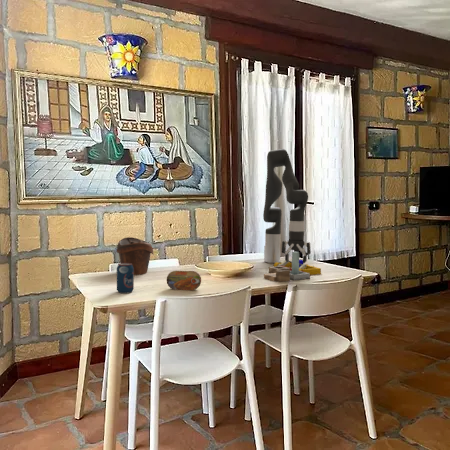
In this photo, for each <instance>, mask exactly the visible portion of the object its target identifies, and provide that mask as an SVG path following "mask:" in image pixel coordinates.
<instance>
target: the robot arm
mask: <svg viewBox="0 0 450 450" xmlns="http://www.w3.org/2000/svg"><path fill="white" fill-rule="evenodd" d="M280 167H284V171H283V173H282V176H281V179H280V178H279V176H278V175H277V174H276V172H275V168H280ZM265 183H266V184H265V199H264V207H263V212H262V213H263V214H262V215H263V216H262V217H263V222H265V223H273V224H274V225H273V226H271V227H268V228H266V229H265V230H264V231H265V237H264V239H265V240H264V241H265V242H264V243H265V244H264V249H263V251H264V252H263V256H264V257H263V261H264V262H266V263H269V264H275V263H276V262H278V263H281V253H282V254H284V261H286V262H289V261H290V254H289V253H290V252H291V251H296V252H299V251H300V253H301V254H302V255H303V256H302V260H303V263H304V264H305V263H307V257H308V256H309V255H311V254H312V253H311V242H305V210H306V208H307V204H308V201H309V194H308V192H307V190H306V189H300V184H299V181H298V179H297V177H296V175H295V173H294V169H293V165H292V161H291V159H290V155H289V153H288V151H287V150H286V149H284V148H280V149H273V150H269V151H268V152H267V155H266V181H265ZM283 186H284V189H285V193H286V197H285V199H286V201H287V203H289V204H290V205H297V207H296V208H292V209H290V210H289V224H288V240H283V241H282V244H281V239H282V238H281V233H282V232H281V230H282V226H281V225H282V208H281V207H279V206H278V207H277V206H275V207H274V206H273V204H275V202H276V201H277V200H279V198H280V197H281V195H282V192H283V191H282V190H283ZM272 206H273V207H272ZM287 245H288V248H287V249H286V246H287ZM304 246H305V248H306V250H305V248H304Z"/></svg>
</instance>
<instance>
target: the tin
mask: <svg viewBox="0 0 450 450" xmlns="http://www.w3.org/2000/svg"><path fill="white" fill-rule="evenodd" d="M201 283H202V277H201V275H200V274H199V273H198V271H195V270H173V271H170V272H169V273H168V274H167V276H166V284H167V286H168V288H170V289H171V290H174V291H192V292H193V291H195V290H197V289H198V288H199V287H200V286H201Z"/></svg>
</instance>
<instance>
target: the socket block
mask: <svg viewBox="0 0 450 450" xmlns="http://www.w3.org/2000/svg"><path fill="white" fill-rule="evenodd" d="M290 268H291V267H290ZM290 268H287V267H283V266H276V267H274V266H270V267H268V274H270V273H276V271H278V270H289V271H290Z"/></svg>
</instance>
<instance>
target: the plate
mask: <svg viewBox="0 0 450 450" xmlns="http://www.w3.org/2000/svg"><path fill="white" fill-rule="evenodd" d="M263 279H265V280H269V281H273V282H277V281H276V273H264V274H263Z"/></svg>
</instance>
